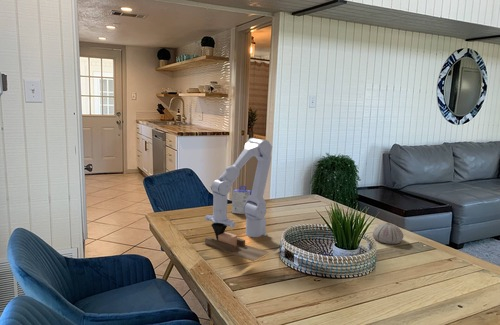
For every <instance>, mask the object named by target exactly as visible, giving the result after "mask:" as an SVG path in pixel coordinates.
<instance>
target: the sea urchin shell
mask: <svg viewBox="0 0 500 325" xmlns="http://www.w3.org/2000/svg"><path fill="white" fill-rule="evenodd" d="M372 237H373V239H374V240H376V241H377V242H380V243H383V244H387V245H389V244H390V245H397V244H399V243H402V241H403V239H404V233H403V231H402V229H400V227H399V226H397V225H396V224H393V223H391V222H381V223H380V224H378V225H377V226H376V227H375V228H374V229H373V231H372Z"/></svg>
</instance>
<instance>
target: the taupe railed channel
mask: <svg viewBox="0 0 500 325" xmlns="http://www.w3.org/2000/svg"><path fill="white" fill-rule="evenodd" d="M204 240H205V241H204V242H203V243H202V245H204V246H206V247H210V248H212V249H216V250H218V251H220V252H221V251H222V252H225V253H227V254H230V255H234V256H237V257H239V258H243V259H246V260H249V261H251V262H253V264H255V263H256V261H255V260H258V261H260V260H262V259H263V258H265V257H266V256H268V254H269V251H266V250H264V249H261V248H257V247H254V246H251V245H248V244H247V245H246V239H243V238H240V237H237V246H235V247H234V245H231V244H228V243H225V242H222V241H219V240H217V239H216V237H214V238H212V237H208V236H207V237H205V238H204ZM264 255H265V256H264Z"/></svg>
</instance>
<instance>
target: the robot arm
mask: <svg viewBox="0 0 500 325" xmlns="http://www.w3.org/2000/svg"><path fill="white" fill-rule="evenodd" d="M272 150H273V146H272V144H271V142H270V141H269V140H267V139H259V138H255V137H250V138H249V139H247V142H245V144H244V148H243V150H242V151H241V153H240V154H239V156H238V157H237V158H236V160H235V161H234V162H233V164H232V165H228V166H226V167H225V170H224V171H223V172H222V174H221V175H220V176H218V179H214V181H213V182H212V183H211V186H210V190H211V192H212V196H213V199H212V200H213V201H212V202H213V204H212V214H207V215H205V216H204V217H205V218H204V220H205V221H210V222H212V224H211V225H210V226H211V227H212V229H213V231H214V235H215V238H216V239H217V240H218V235H220V234H222V233H225V232H226V229H227V227H230V228H232V229H233V228H235V227H236V222H235V221H233V220H231V219H229V218H227V217H228V216H227V215H228V194H229V193H230V192H231V189H232V185H233V183H234V182H236V179H238V177H239V176H240V170H241V169H242V168H243V167H244V166H245V164H246V163H247V162H248V161H249V160H250V159H251V158H253V157H255V158H256V160H257V165H256V169H255V174H254V179H253V184H252V188H251V191H252V192H251V195H250V196H249V197H247V199H246V202H245V204H244V206H243V211H244V213H245V214H244V215H245V235H246V237H250V238H260V237H262V236H267V235H268V233H266V231H267V230H266V229H267V220H266V218H265V216H266V213H267V202H266V200H265V199H264V195H265V190H266V186H267V185H266V184H267V180H268V176H269V171H270V166H271V161H272Z"/></svg>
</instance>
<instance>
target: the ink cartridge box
mask: <svg viewBox="0 0 500 325" xmlns="http://www.w3.org/2000/svg"><path fill="white" fill-rule="evenodd" d="M251 192H252V189H251V190H249V189H248V190H247V185H239V188H238V189H234V190H232V196H231V197H232V198H231V199H232V200H231V214H241V215H245V213H244V211H243V206H244V204H245V202H246V199H247V197H249V196H250V195H251Z"/></svg>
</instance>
